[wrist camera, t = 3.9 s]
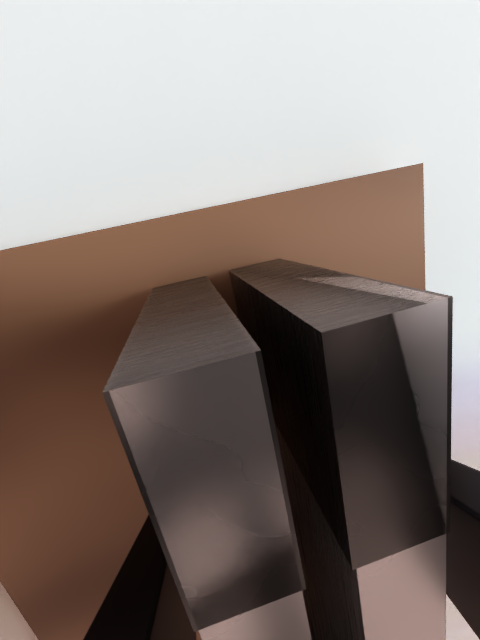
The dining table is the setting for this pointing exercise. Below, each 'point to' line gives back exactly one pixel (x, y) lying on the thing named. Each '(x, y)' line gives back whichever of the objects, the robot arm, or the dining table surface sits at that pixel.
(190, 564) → the tongs arm
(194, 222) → the board
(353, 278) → the frame
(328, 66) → the dining table surface
